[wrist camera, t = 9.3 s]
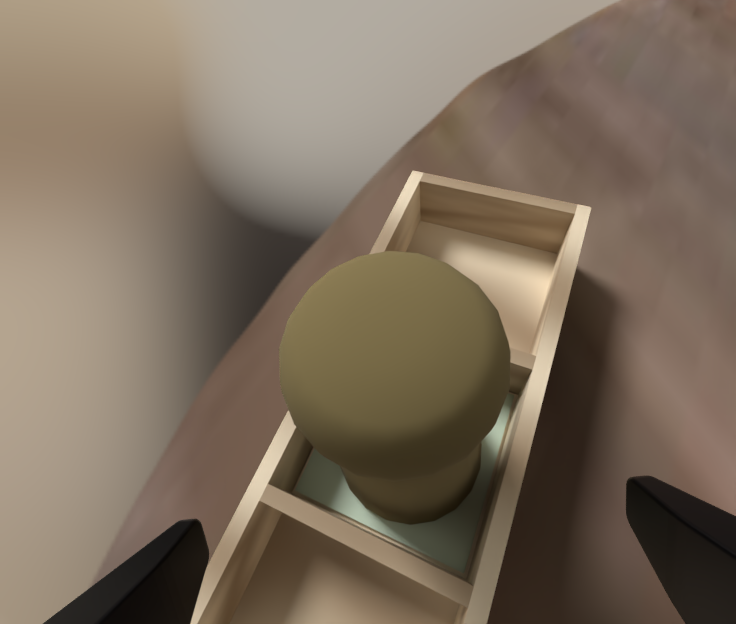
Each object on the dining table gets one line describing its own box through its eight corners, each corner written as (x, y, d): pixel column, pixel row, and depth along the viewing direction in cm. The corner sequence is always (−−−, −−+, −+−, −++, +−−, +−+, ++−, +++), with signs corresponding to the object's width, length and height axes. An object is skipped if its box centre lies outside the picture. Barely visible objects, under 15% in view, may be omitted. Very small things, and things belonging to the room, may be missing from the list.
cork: (312, 429, 18) (191, 305, 9) (420, 352, 20) (414, 170, 10) (393, 560, 16) (340, 580, 6) (513, 461, 17) (625, 351, 7)
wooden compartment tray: (394, 902, 12) (381, 1040, 9) (170, 730, 15) (94, 784, 12) (566, 259, 23) (591, 207, 19) (414, 222, 25) (412, 170, 22)
